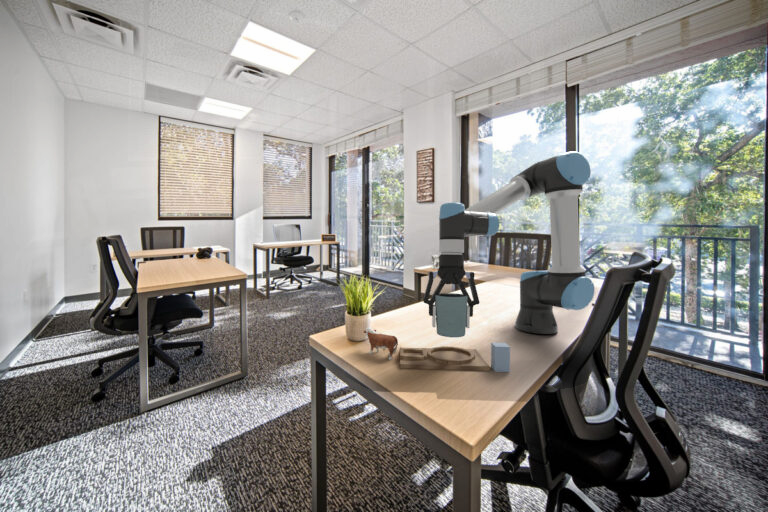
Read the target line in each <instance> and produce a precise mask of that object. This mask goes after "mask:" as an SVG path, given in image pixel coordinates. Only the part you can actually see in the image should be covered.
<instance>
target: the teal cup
mask: <svg viewBox="0 0 768 512" xmlns="http://www.w3.org/2000/svg"><path fill="white" fill-rule="evenodd" d="M435 299H436V300H435V302H434V305H435V306H436V325H435V327H436V334H437V335H438V336H441V337H445V338H446V337H447V338H463V337H465V336H466V329H467V328H466V316H467V305H468V303H467V299H468V296H463V294H462V293H451V292H450V293H446V292H444V293H441V292H440V293H439V295H438V296H437V295H435Z"/></svg>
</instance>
